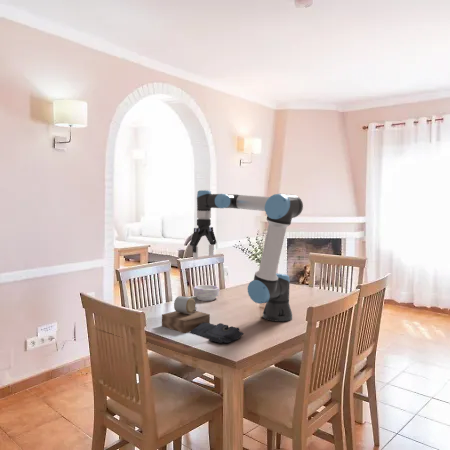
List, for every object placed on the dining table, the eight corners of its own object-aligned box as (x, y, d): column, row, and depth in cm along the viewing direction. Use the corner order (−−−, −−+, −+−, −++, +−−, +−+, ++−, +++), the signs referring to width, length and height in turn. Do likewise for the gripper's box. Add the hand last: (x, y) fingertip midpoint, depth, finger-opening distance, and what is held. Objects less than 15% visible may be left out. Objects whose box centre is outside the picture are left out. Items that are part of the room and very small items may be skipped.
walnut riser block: (209, 326, 201) (209, 314, 200) (184, 334, 189) (185, 320, 188) (186, 320, 211) (186, 308, 211) (161, 327, 199) (161, 314, 199)
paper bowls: (223, 300, 254) (224, 287, 254) (204, 304, 244) (204, 290, 244) (207, 296, 266) (207, 283, 265) (188, 299, 256) (188, 286, 255)
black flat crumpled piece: (209, 326, 201) (209, 316, 201) (246, 336, 187) (246, 325, 187) (187, 333, 189) (187, 323, 189) (224, 344, 175) (224, 333, 175)
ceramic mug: (187, 314, 195) (187, 297, 196) (173, 313, 199) (173, 296, 200) (200, 311, 204) (200, 295, 204) (187, 310, 208) (187, 294, 209)
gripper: (212, 218, 242) (212, 254, 243) (183, 219, 222) (183, 259, 223) (222, 218, 237) (222, 255, 238) (194, 219, 217) (193, 260, 218)
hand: (203, 257), depth 231 cm, fingers open, 13 cm apart
